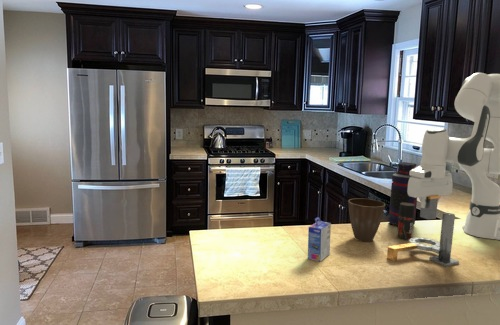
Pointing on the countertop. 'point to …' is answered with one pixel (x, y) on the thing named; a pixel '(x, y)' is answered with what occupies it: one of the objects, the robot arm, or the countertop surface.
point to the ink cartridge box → (319, 240)
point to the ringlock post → (438, 247)
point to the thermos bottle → (400, 191)
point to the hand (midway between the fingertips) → (428, 207)
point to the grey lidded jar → (430, 208)
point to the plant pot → (365, 217)
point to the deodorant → (405, 221)
